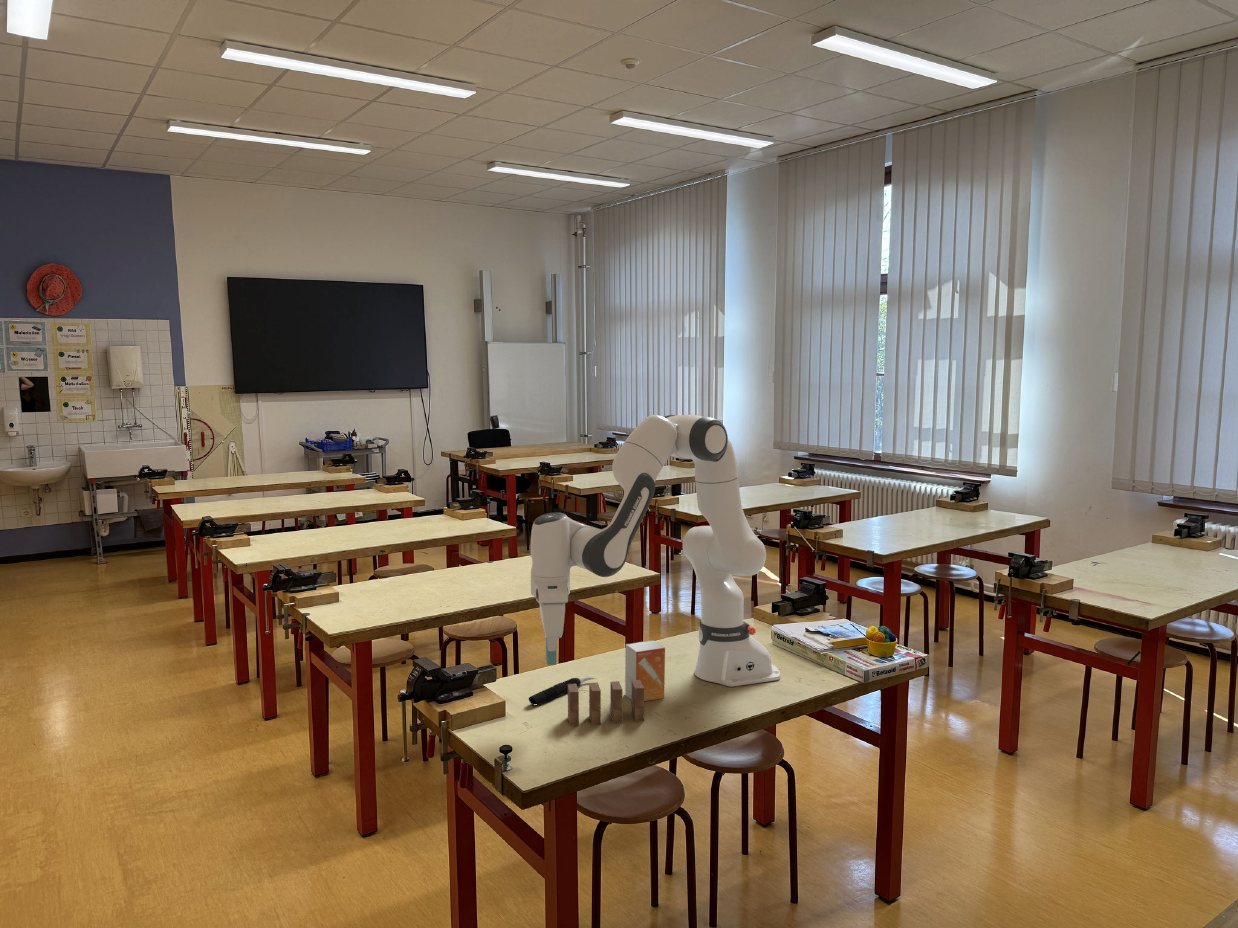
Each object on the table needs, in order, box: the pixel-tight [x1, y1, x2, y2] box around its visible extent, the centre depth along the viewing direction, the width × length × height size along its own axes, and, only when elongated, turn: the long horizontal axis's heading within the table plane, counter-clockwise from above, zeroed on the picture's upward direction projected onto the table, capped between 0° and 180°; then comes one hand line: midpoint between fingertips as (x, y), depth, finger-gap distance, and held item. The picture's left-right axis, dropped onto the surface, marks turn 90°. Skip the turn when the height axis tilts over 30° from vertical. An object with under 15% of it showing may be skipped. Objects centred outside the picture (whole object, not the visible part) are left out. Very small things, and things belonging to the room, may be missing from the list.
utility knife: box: [528, 676, 597, 707], centre depth 208 cm, size 22×4×3 cm, turn 142°
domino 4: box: [609, 680, 623, 724], centre depth 193 cm, size 2×5×8 cm, turn 9°
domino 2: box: [567, 684, 580, 727], centre depth 191 cm, size 2×5×8 cm, turn 9°
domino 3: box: [588, 681, 602, 726], centre depth 192 cm, size 2×5×8 cm, turn 9°
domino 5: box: [631, 680, 645, 723], centre depth 193 cm, size 2×5×8 cm, turn 9°
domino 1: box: [545, 638, 557, 666], centre depth 189 cm, size 2×5×8 cm, turn 9°
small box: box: [624, 639, 666, 702], centre depth 206 cm, size 8×6×13 cm
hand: (550, 645), depth 189 cm, fingers closed on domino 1, 5 cm apart
